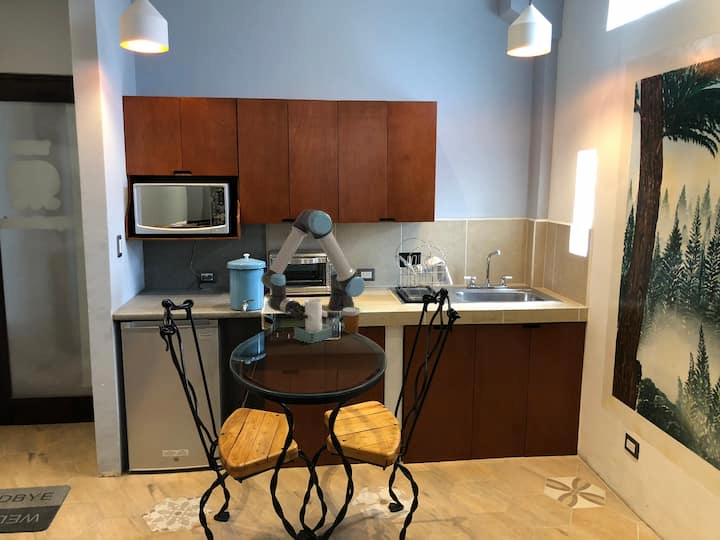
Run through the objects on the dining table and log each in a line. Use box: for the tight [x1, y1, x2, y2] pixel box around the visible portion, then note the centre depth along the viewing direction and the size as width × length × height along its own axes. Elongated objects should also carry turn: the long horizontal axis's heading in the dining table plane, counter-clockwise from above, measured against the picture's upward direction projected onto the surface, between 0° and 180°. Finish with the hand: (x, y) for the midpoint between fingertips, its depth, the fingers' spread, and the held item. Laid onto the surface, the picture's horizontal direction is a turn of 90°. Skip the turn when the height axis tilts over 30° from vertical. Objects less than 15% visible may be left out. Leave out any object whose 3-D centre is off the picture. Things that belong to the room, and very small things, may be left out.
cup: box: [304, 298, 323, 332], centre depth 278 cm, size 8×8×16 cm
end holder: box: [292, 323, 337, 344], centre depth 280 cm, size 16×14×5 cm
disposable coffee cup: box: [341, 306, 361, 335], centre depth 286 cm, size 10×10×12 cm
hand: (319, 316), depth 275 cm, fingers closed on cup, 8 cm apart
